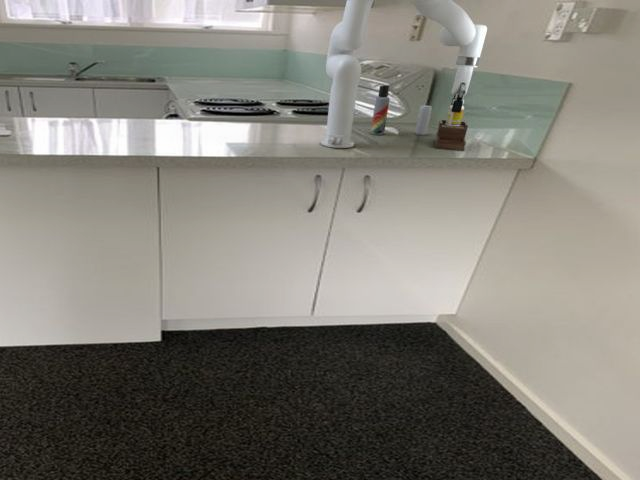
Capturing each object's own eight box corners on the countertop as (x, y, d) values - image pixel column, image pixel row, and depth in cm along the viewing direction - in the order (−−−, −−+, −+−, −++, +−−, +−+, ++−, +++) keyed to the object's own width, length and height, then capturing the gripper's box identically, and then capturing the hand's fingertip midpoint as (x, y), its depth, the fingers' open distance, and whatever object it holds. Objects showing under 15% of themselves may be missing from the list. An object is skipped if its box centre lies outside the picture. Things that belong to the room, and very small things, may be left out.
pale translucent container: (426, 134, 187) (432, 105, 182) (426, 136, 183) (432, 107, 178) (414, 133, 188) (420, 105, 183) (414, 135, 184) (420, 106, 179)
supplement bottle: (442, 125, 166) (448, 99, 162) (449, 123, 169) (455, 98, 165) (455, 127, 163) (462, 101, 158) (462, 126, 166) (468, 100, 161)
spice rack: (463, 151, 159) (469, 128, 155) (435, 148, 162) (440, 125, 158) (461, 143, 172) (466, 121, 168) (435, 140, 175) (439, 119, 171)
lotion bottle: (376, 135, 181) (384, 86, 172) (367, 133, 186) (374, 84, 176) (386, 134, 183) (394, 85, 174) (377, 132, 188) (385, 84, 179)
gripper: (455, 61, 164) (444, 107, 172) (457, 62, 149) (445, 112, 157) (476, 62, 162) (463, 109, 169) (480, 63, 147) (467, 114, 155)
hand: (455, 110), depth 163 cm, fingers open, 9 cm apart
